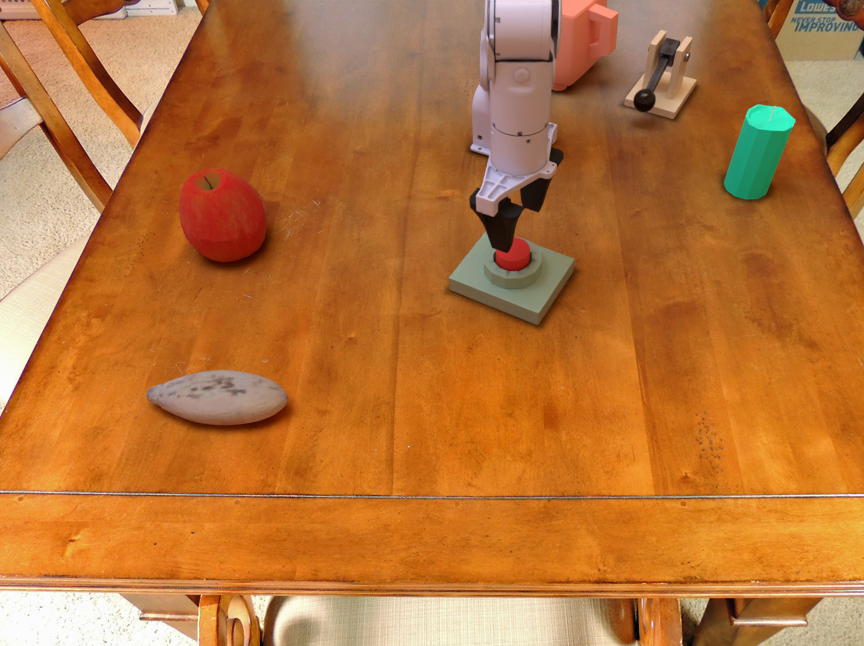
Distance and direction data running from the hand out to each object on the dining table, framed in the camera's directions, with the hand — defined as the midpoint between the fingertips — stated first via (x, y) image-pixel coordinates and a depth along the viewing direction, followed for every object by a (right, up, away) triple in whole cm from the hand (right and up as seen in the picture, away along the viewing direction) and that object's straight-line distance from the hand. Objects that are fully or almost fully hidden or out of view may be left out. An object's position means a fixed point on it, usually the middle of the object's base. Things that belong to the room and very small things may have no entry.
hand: (516, 228), depth 77 cm
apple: (-36, 0, +12) cm, 38 cm away
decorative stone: (-32, -20, -3) cm, 38 cm away
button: (0, -3, +4) cm, 5 cm away
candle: (+32, +9, +17) cm, 38 cm away
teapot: (+7, +34, +35) cm, 49 cm away
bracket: (+24, +27, +30) cm, 47 cm away
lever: (+22, +27, +24) cm, 42 cm away
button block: (0, -5, +7) cm, 9 cm away
